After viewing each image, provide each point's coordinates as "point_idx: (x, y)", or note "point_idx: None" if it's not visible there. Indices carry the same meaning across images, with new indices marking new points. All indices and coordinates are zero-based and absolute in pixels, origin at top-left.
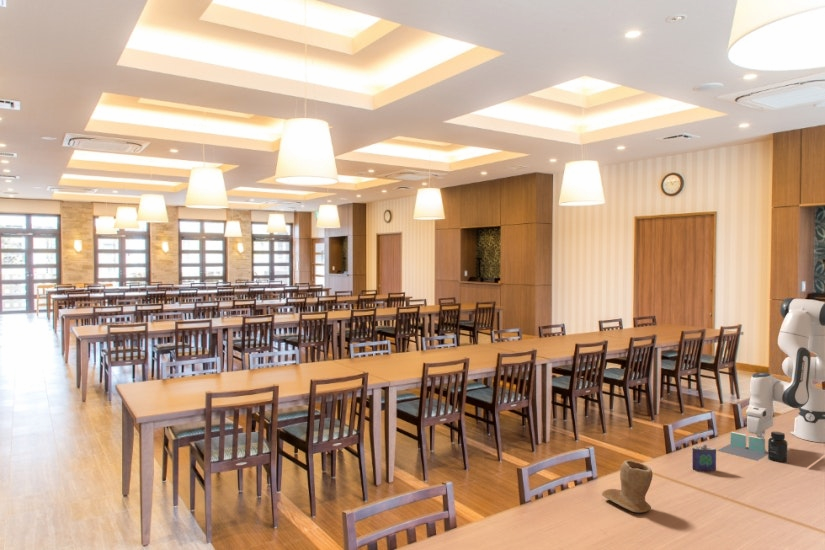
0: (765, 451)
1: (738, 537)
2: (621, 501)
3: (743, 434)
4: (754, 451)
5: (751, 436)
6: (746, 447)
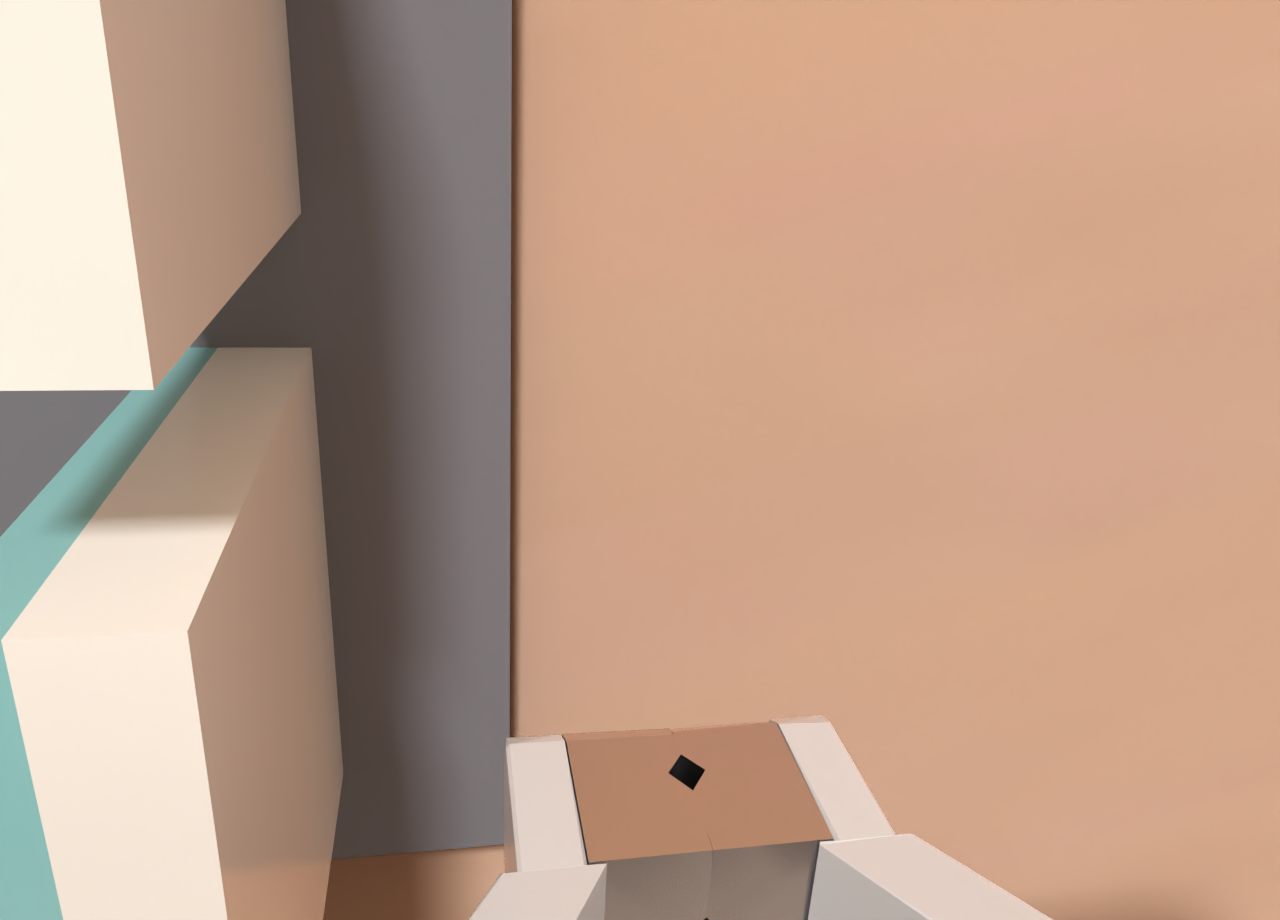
0: (479, 734)
1: None
2: None
3: (64, 166)
4: None
5: (81, 744)
6: (411, 182)
